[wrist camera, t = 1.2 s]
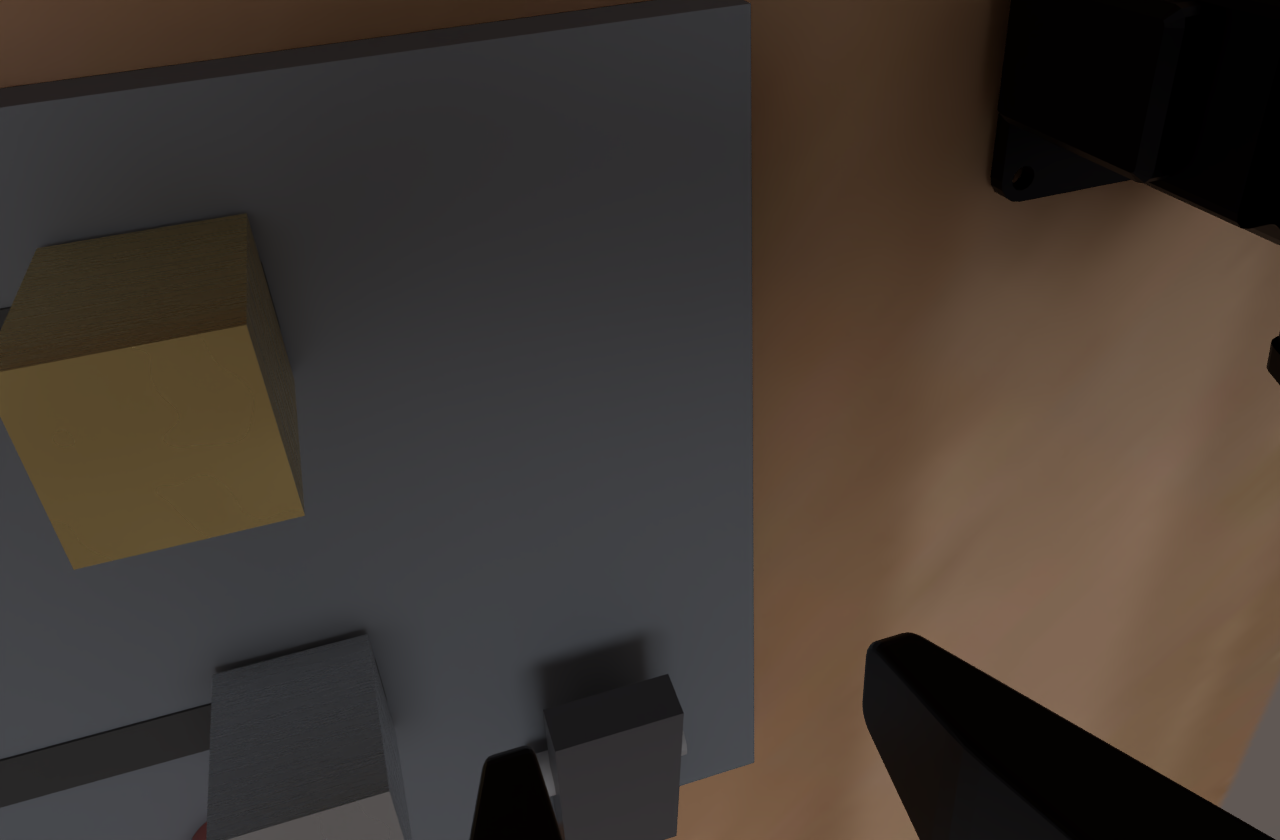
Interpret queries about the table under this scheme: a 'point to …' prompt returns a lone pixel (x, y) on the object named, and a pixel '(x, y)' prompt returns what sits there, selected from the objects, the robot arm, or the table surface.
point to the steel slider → (305, 750)
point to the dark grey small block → (616, 762)
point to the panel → (417, 401)
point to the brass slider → (151, 390)
